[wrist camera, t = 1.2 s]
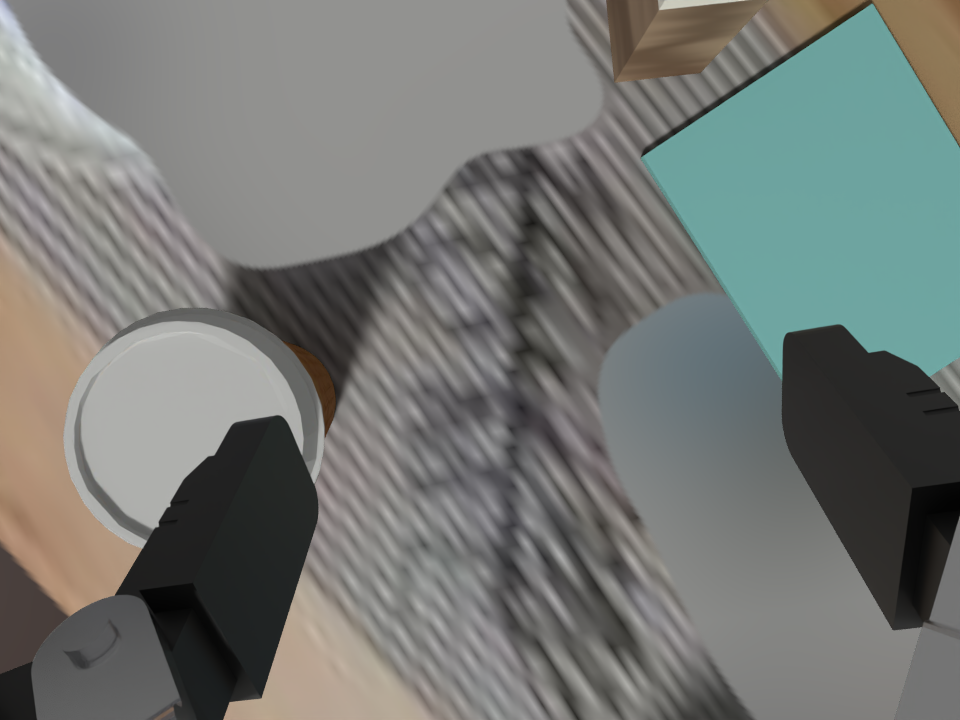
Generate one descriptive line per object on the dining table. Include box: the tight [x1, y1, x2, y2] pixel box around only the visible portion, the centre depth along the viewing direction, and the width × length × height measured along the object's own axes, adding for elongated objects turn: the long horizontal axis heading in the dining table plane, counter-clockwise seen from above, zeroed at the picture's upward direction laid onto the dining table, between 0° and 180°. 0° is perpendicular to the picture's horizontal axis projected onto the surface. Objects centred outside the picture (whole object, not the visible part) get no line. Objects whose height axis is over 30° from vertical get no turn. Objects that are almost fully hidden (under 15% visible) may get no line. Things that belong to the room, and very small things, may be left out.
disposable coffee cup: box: [63, 308, 336, 549], centre depth 31 cm, size 10×10×12 cm
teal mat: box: [641, 3, 960, 380], centre depth 36 cm, size 18×14×1 cm
